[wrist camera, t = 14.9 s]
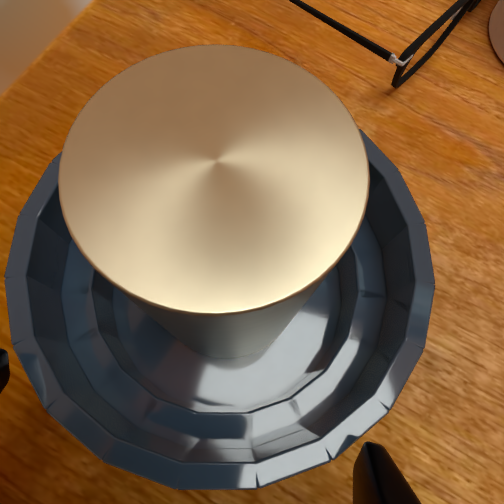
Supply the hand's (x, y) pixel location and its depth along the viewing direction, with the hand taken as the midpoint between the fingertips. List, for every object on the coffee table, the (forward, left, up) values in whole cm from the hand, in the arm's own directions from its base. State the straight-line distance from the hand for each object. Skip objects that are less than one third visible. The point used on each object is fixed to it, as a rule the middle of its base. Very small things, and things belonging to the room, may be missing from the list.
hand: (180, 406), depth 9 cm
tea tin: (+3, +3, -5) cm, 7 cm away
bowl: (+3, +3, -6) cm, 8 cm away
